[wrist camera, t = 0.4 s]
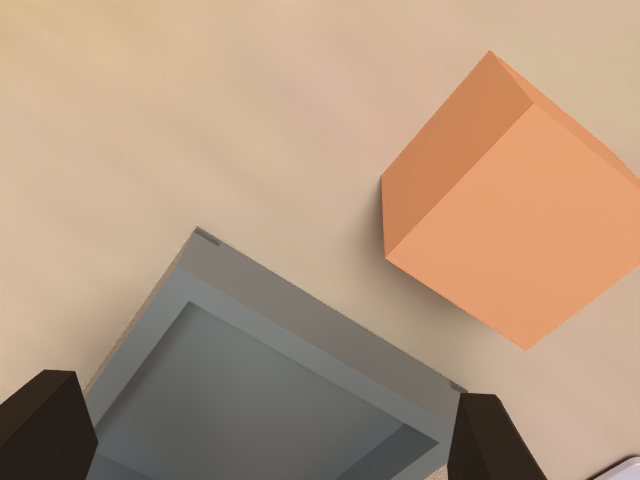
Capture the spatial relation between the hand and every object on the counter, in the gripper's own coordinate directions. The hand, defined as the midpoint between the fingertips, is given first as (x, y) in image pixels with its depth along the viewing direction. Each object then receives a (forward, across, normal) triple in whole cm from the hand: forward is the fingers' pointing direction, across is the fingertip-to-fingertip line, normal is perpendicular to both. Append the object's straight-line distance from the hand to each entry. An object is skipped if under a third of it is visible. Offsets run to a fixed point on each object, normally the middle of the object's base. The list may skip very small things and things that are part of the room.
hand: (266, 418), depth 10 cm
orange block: (+10, -6, -1) cm, 11 cm away
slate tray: (+10, +3, +11) cm, 15 cm away
